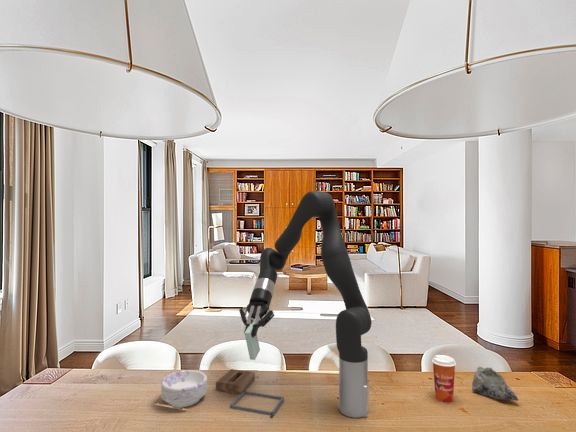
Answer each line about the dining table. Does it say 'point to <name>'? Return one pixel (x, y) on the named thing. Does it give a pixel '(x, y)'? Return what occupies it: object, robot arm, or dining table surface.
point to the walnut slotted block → (235, 381)
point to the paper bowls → (184, 388)
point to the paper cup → (444, 377)
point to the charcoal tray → (258, 409)
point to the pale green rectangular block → (252, 343)
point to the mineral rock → (491, 384)
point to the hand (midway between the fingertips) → (249, 335)
